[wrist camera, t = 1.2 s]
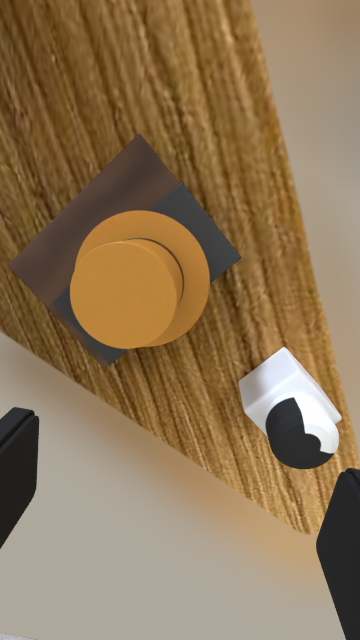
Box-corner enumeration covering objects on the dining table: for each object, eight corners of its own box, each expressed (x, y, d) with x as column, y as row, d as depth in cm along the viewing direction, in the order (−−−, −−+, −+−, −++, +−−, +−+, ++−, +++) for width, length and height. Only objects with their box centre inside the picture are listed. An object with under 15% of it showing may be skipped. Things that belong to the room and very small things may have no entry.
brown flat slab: (26, 261, 39) (7, 264, 36) (146, 143, 35) (139, 132, 31) (113, 355, 42) (103, 368, 38) (236, 255, 37) (239, 258, 34)
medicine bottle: (273, 420, 42) (298, 493, 31) (236, 381, 41) (248, 440, 30) (321, 387, 41) (366, 450, 29) (283, 345, 40) (315, 393, 28)
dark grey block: (101, 276, 35) (49, 300, 24) (190, 196, 32) (180, 180, 21) (140, 320, 36) (109, 364, 25) (229, 247, 33) (241, 257, 22)
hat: (50, 272, 23) (3, 286, 18) (148, 179, 21) (127, 163, 16) (138, 368, 24) (118, 407, 19) (237, 290, 22) (247, 310, 17)
